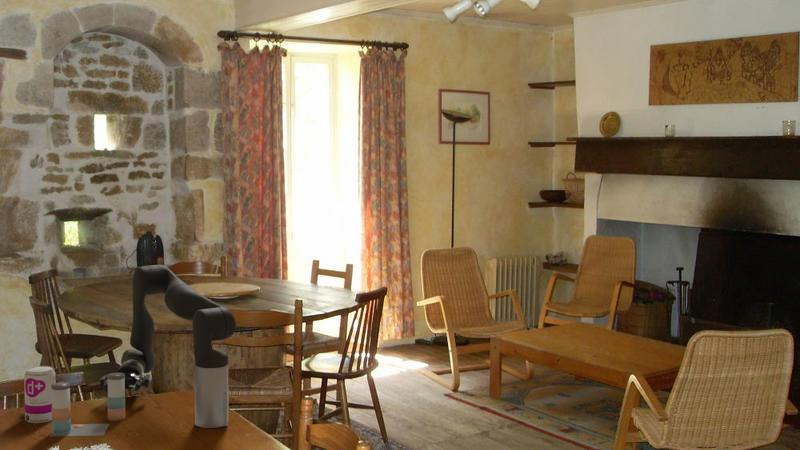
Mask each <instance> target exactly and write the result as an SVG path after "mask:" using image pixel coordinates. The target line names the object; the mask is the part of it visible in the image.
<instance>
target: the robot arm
mask: <svg viewBox="0 0 800 450" xmlns="http://www.w3.org/2000/svg"><path fill="white" fill-rule="evenodd" d="M159 294H164V296H163V297H164V303H165V306H166V308H167V309H168V310H170V312H172V313H173V314H174V315H175V316H177V317H179V318H181V319H183V320H186V321H187V320H188V321H192V341H193V355H194V424H195V426H196V427H199V428H202V429H217V428H221V427H228V425H229V396H230V395H229V394H230V393H229V391H230V389H229V356H228V354H227V353H226V352H225V351H221V350H217V349H213V347H212V346H213V345H212V342H215V341H222V340H223V341H224V340H226V339H229V338H231V337H232V336H233V335H234V334H235V332H236V330H237V322H236V319H235V317H234V314H233V313H232V312H231V310H230V309H229V308H227V307H226V306H224V305H222V304H219V303H218V302H217V303H216V302H215V301H212V300H210V298H208V297H206V296H204V294H201V293H200V292H199V291H198V290H196V289H195V288H193V287H192V286H190V285H189V284H187V283H185V282H184V281H183V280H181V278H179V277H178V276H177V275H176V274H175V273H174V272H173V271H172V270H171V269H170V268H169V267H167V265H164V264H152V265H142V266H138V267H136V268H135V270H134V272H133V276H132V325H131V331H130V337H129V344H130V347H132V348H133V349H132V348H131V349H130V348H129V349H126V350H125V351H124V352H123V353H122V356H121V360H120V363H121V365H120V367H119V368H118V369H117V371H116V373H124V374H125V390H132V389H134V390H135V391H136V392H138V391H139V390H141V389H142V388H143V387H144V388H150V385H151V375H150V374H149V373H150V372H151V371H152V370H153V369H154V367H155V356H154V349H153V338H154V332H155V321H154V318H153V317H152V315H151V313H150V311H149V310H148V308H147V306H146V303H145V299H146V296H150V295H159ZM144 374H145V375H144ZM107 375H108V374H104V375H103V376H102V377H101V378H100V379H99V389H103V391H105V392H108V378H107Z"/></svg>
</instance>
